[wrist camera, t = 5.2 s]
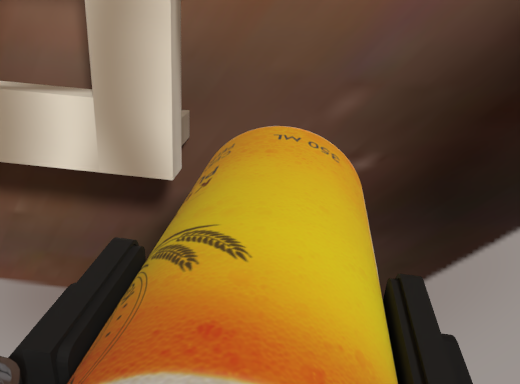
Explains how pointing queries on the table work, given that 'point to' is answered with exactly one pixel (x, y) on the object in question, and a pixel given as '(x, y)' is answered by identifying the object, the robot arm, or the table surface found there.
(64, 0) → the table surface
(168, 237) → the beer can
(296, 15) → the table surface
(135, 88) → the birch stand
